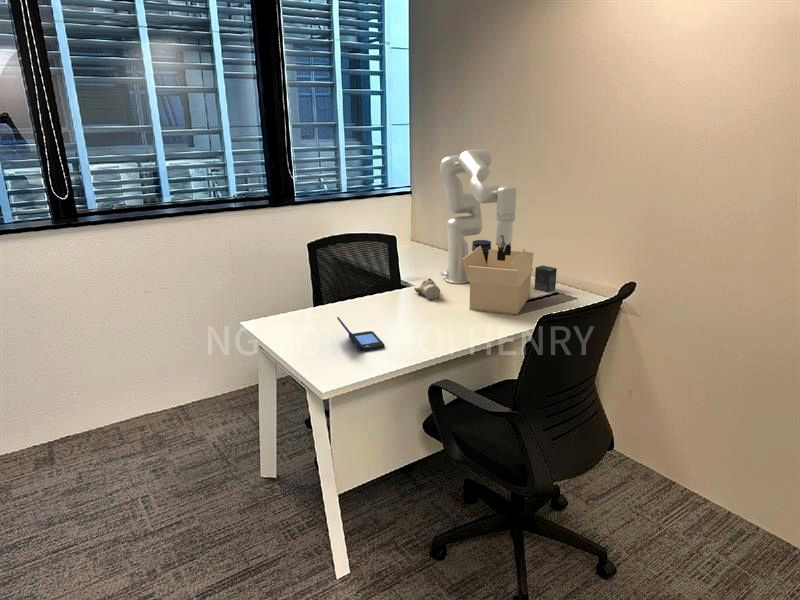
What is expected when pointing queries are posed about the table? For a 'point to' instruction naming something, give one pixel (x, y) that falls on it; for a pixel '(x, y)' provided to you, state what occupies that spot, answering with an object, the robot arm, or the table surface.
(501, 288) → the carton
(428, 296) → the ceramic sculpture
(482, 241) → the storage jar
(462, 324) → the table surface
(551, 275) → the box
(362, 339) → the handheld device with antenna
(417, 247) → the table surface
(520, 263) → the flap
